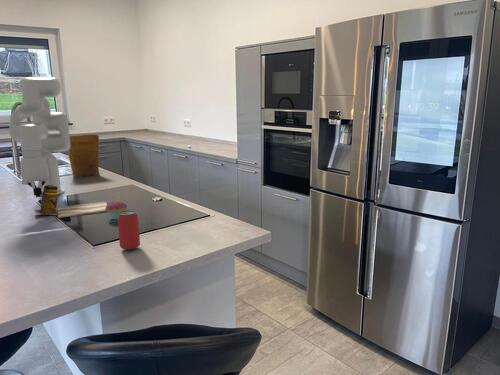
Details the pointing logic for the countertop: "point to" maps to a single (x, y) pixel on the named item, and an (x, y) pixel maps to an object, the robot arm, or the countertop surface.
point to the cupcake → (116, 208)
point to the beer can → (128, 229)
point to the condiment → (48, 201)
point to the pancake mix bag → (84, 155)
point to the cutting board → (81, 209)
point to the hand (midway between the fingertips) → (38, 196)
